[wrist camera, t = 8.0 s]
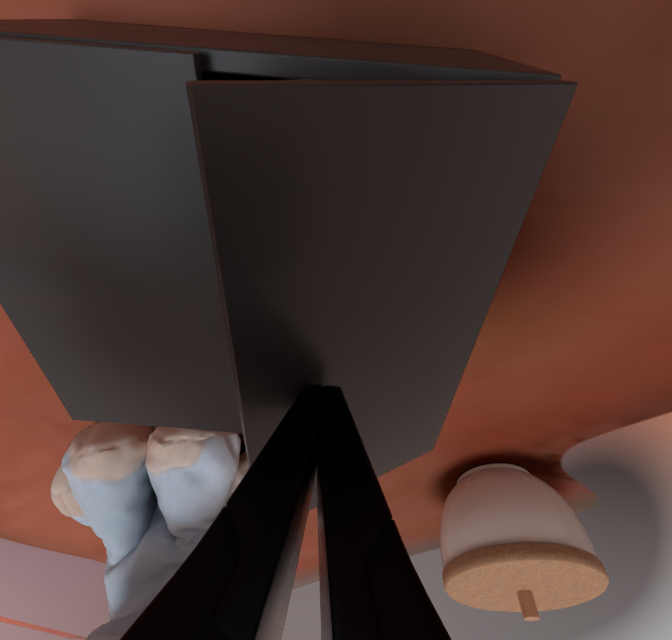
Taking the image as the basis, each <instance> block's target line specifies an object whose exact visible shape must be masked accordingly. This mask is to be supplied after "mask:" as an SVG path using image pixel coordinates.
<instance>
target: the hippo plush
mask: <svg viewBox="0 0 672 640" xmlns="http://www.w3.org/2000/svg"><path fill="white" fill-rule="evenodd" d="M240 447H241V440H240V437H239V435H238V433H230V432H218V431H206V430H194V429H182V428H169V427H155V426H145V425H133V424H121V423H109V422H98V423H95V424H93V425H91V426H89V427H87V428H86V429H84V430H83V431H81V432H80V433H79V434H78V435H77V436H76V437H75V438H74V439H73V440H72V443H71V444H70V446H69V449H68V450H67V451H66V452H65V454H64V457H63V459H62V465H61V466H60V467H59V468H58V470H57V472H56V474H55V477H54V479H53V481H52V485H51V494H52V496H51V498H52V501H53V503H54V505H56V506H57V508H58V509H59V510H60V512H61V513H62V514H64V515H66V516H71V517H72V518H73V519H75V520H76V521H78V522H79V523H81V524H83V525H87V526H90V527H91V528H92V529H93V531H94V532H95V534H96V535H97V536H98V537H100V538H102V540H103V543H104V545H105V547H106V548H107V556H108V558H107V565H106V571H105V575H104V582H105V586H106V592H107V598H108V602H109V616H110V622H108V623H106V624H104V625H101V626H100V627H98V628H97V629H95V630H93V631H92V632H91V634H90V635H89V636H88V638H87V639H85V640H120V638H121V637H122V636H123V635H124V634H125V632H126V631H127V630H128V629H129V628H130V626H131V625H132V624H133V623H134V622H135V620H136V619H137V618H138V617H139V616H140V614H141V613H142V612H143V611H144V610H145V608H146V607H147V606H148V605H149V604H150V602H151V601H152V600H153V599H154V598H155V596H156V595H157V594H158V593H159V592H160V590H161V589H162V588H163V587H164V586H165V584H166V583H167V582H168V581H169V579H170V578H171V577H172V576H173V575H174V573H175V572H176V571H177V570H178V568H179V567H180V566H181V565H182V563H183V562H184V561H185V560H186V558H187V557H188V556H189V554H190V553H191V552H192V551H193V549H194V548H195V547H196V545H197V544H198V543H199V541H200V540H201V538H202V537H203V536H204V534H205V533H206V531H207V530H208V529H209V527H210V526H211V524H212V523H213V521H214V520H215V518H216V517H217V515H218V514H219V513H220V511H221V510H222V508H223V507H224V506H226V502H227V501H228V499H229V498H230V496H231V495H232V493H233V492H234V490H235V489H236V488H237V486H238V485H239V483H240V482H241V480H242V479H243V477H244V476H245V474H246V473H247V471H248V470H249V467H248V461H247V455H246V450H245V451H244V452H243V453H242V454H241V455H239V454H240ZM226 507H227V506H226Z"/></svg>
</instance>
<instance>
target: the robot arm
mask: <svg viewBox="0 0 672 640" xmlns="http://www.w3.org/2000/svg"><path fill="white" fill-rule="evenodd" d="M316 470H317V510H318V542H319V575H320V605H321V606H320V608H321V640H451V638H450V636H449V634H448V632H447V631H446V629H445V627H444V625H443V623H442V621H441V619H440V617H439V615H438V614H437V612H436V610H435V608H434V606H433V604H432V602H431V600H430V598H429V596H428V595H427V593H426V591H425V588H424V586H423V584H422V583H421V580H420V578H419V576H418V574H417V572H416V570H415V568H414V566H413V564H412V562H411V560H410V557H409V555H408V553H407V550H406V548H405V546H404V543H403V541H402V539H401V536H400V534H399V531H398V529H397V526H396V524H395V521H394V520H391V519H392V514H391V512H390V509H389V507H388V504H387V502H386V499H385V497H384V494H383V492H382V489H381V487H380V484H379V482H378V479H377V477H376V474H375V472H374V469H373V467H372V464H371V462H370V459H369V457H368V454H367V451H366V449H365V446H364V444H363V441H362V439H361V436H360V434H359V431H358V429H357V426H356V424H355V421H354V419H353V416H352V414H351V411H350V409H349V406H348V404H347V401H346V399H345V396H344V394H343V391H342V389H341V387H339V386H332V385H325V386H324V387H323V386H322V385H319V384H306V385H305V386H304V388H303V389H302V391H301V392H300V394H299V395H298V397H297V398H296V400H295V401H294V403H293V404H292V406H291V407H290V409H289V410H288V412H287V413H286V415H285V416H284V418H283V419H282V420H281V422H280V423H279V425H278V426H277V428H276V429H275V431H274V432H273V434H272V435H271V437H270V438H269V440H268V441H267V443H266V444H265V446H264V447H263V449H262V450H261V452H260V453H259V455H258V456H257V458H256V459H255V461H254V462H253V464H252V465H251V467H250V468H249V470H248V471H247V473H246V474H245V476H244V477H243V479H242V480H241V482H240V483H239V485H238V486H237V488H236V489H235V490H234V492H233V493H232V495H231V496H230V498H229V499H228V501H227V502H226V506H227V507H226V506H224V507H223V508H222V510H221V511H220V513H219V514H218V515H217V517H216V518H215V520H214V521H213V523H212V524H211V526H210V527H209V529H208V530H207V531H206V533H205V534H204V536H203V537H202V538H201V540H200V541H199V543H198V544H197V545H196V547H195V548H194V549H193V551H192V552H191V553H190V554H189V556H188V557H187V558H186V560H185V561H184V562H183V563H182V565H181V566H180V567H179V568H178V570H177V571H176V572H175V573H174V575H173V576H172V577H171V578H170V579H169V581H168V582H167V583H166V584H165V586H164V587H163V588H162V589H161V590H160V592H159V593H158V594H157V595H156V596H155V598H154V599H153V600H152V601H151V602H150V604H149V605H148V606H147V607H146V608H145V610H144V611H143V612H142V613H141V614H140V616H139V617H138V618H137V619H136V620H135V622H134V623H133V624H132V625H131V626H130V628H129V629H128V630H127V631H126V632H125V634H124V635H123V636H122V637H121V638H120V640H281V638H282V634H283V629H284V624H285V619H286V615H287V610H288V605H289V601H290V596H291V591H292V587H293V582H294V577H295V573H296V568H297V563H298V558H299V554H300V549H301V544H302V540H303V535H304V530H305V525H306V521H307V516H308V511H309V507H310V502H311V497H312V492H313V488H314V483H315V477H316Z"/></svg>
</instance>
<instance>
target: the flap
mask: <svg viewBox="0 0 672 640" xmlns="http://www.w3.org/2000/svg"><path fill="white" fill-rule="evenodd" d="M576 87H577V83H576V82H571V81H565V80H208V81H187V82H186V89H187V95H188V101H189V107H190V113H191V119H192V126H193V132H194V138H195V144H196V150H197V156H198V162H199V168H200V174H201V181H202V187H203V193H204V199H205V205H206V211H207V217H208V223H209V229H210V235H211V242H212V248H213V254H214V260H215V266H216V272H217V278H218V284H219V290H220V296H221V303H222V309H223V315H224V321H225V327H226V333H227V339H228V345H229V351H230V358H231V364H232V370H233V376H234V382H235V388H236V394H237V400H238V406H239V412H240V419H241V425H242V431H243V437H244V443H245V449H246V455H247V461H248V467H249V468H250V467H251V465H252V464H253V462H254V461H255V459H256V458H257V456H258V455H259V453H260V452H261V450H262V449H263V447H264V446H265V444H266V443H267V441H268V440H269V438H270V437H271V435H272V434H273V432H274V431H275V429H276V428H277V426H278V425H279V423H280V422H281V420H282V419H283V418H284V416H285V415H286V413H287V412H288V410H289V409H290V407H291V406H292V404H293V403H294V401H295V400H296V398H297V397H298V395H299V394H300V392H301V391H302V389H303V388H304V386H305V385H306V384H319V385H322V386H323V387H324V386H325V385H332V386H339V387H341V389H342V391H343V394H344V396H345V399H346V401H347V404H348V406H349V409H350V411H351V414H352V416H353V419H354V421H355V424H356V426H357V429H358V431H359V434H360V436H361V439H362V441H363V444H364V446H365V449H366V451H367V454H368V457H369V459H370V462H371V464H372V467H373V469H374V472H375V474H376V477H378V476H380V475H382V474H384V473H387V472H389V471H391V470H393V469H395V468H397V467H399V466H401V465H403V464H405V463H407V462H409V461H411V460H413V459H415V458H417V457H419V456H421V455H423V454H425V453H427V452H429V451H431V450H433V448H434V446H435V443H436V441H437V438H438V436H439V433H440V431H441V428H442V426H443V423H444V421H445V418H446V415H447V413H448V410H449V408H450V405H451V403H452V400H453V398H454V395H455V393H456V390H457V388H458V385H459V383H460V380H461V378H462V375H463V373H464V370H465V367H466V365H467V362H468V360H469V357H470V355H471V352H472V350H473V347H474V345H475V342H476V340H477V337H478V335H479V332H480V330H481V327H482V325H483V322H484V320H485V317H486V314H487V312H488V309H489V307H490V304H491V302H492V299H493V297H494V294H495V292H496V289H497V287H498V284H499V282H500V279H501V277H502V274H503V272H504V269H505V267H506V264H507V261H508V259H509V256H510V254H511V251H512V249H513V246H514V244H515V241H516V239H517V236H518V234H519V231H520V229H521V226H522V224H523V221H524V219H525V216H526V214H527V211H528V208H529V206H530V203H531V201H532V198H533V196H534V193H535V191H536V188H537V186H538V183H539V181H540V178H541V176H542V173H543V171H544V168H545V166H546V163H547V161H548V158H549V155H550V153H551V150H552V148H553V145H554V143H555V140H556V138H557V135H558V133H559V130H560V128H561V125H562V123H563V120H564V118H565V115H566V113H567V110H568V107H569V105H570V102H571V100H572V97H573V95H574V92H575V90H576ZM315 507H317V470H316V477H315V483H314V488H313V492H312V497H311V502H310V507H309V510H311V509H313V508H315Z"/></svg>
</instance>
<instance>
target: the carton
mask: <svg viewBox="0 0 672 640" xmlns="http://www.w3.org/2000/svg"><path fill="white" fill-rule="evenodd" d="M560 78H561V75H559V74H556V73H553V72H549V71H546V70H542V69H539V68H536V67H532V66H529V65H525V64H522V63H518V62H515V61H512V60H508V59H505V58H501V57H498V56H494V55H491V54H488V53H484V52H481V51H477V50H466V49H453V48H440V47H427V46H414V45H401V44H388V43H375V42H362V41H349V40H336V39H323V38H310V37H297V36H284V35H271V34H258V33H245V32H232V31H219V30H206V29H193V28H180V27H167V26H154V25H141V24H128V23H115V22H102V21H89V20H76V19H24V20H0V304H1V305H2V307H3V309H4V310H5V312H6V313H7V315H8V317H9V318H10V320H11V321H12V323H13V325H14V326H15V328H16V329H17V331H18V333H19V334H20V336H21V337H22V339H23V341H24V342H25V344H26V345H27V347H28V349H29V350H30V352H31V353H32V355H33V357H34V358H35V360H36V361H37V363H38V365H39V366H40V368H41V369H42V371H43V373H44V374H45V376H46V377H47V379H48V381H49V382H50V384H51V385H52V387H53V389H54V390H55V392H56V393H57V395H58V397H59V398H60V400H61V401H62V403H63V405H64V406H65V408H66V410H67V411H68V413H69V414H70V416H71V418H72V419H73V420H85V421H97V422H109V423H121V424H133V425H145V426H157V427H169V428H182V429H194V430H206V431H218V432H230V433H242V434H243V431H242V425H241V419H240V412H239V406H238V400H237V394H236V388H235V382H234V376H233V370H232V364H231V358H230V351H229V345H228V339H227V333H226V327H225V321H224V315H223V309H222V303H221V296H220V290H219V284H218V278H217V272H216V266H215V260H214V254H213V248H212V242H211V235H210V229H209V223H208V217H207V211H206V205H205V199H204V193H203V187H202V181H201V174H200V168H199V162H198V156H197V150H196V144H195V138H194V132H193V126H192V119H191V113H190V107H189V101H188V95H187V89H186V82H187V81H208V80H560Z"/></svg>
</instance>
